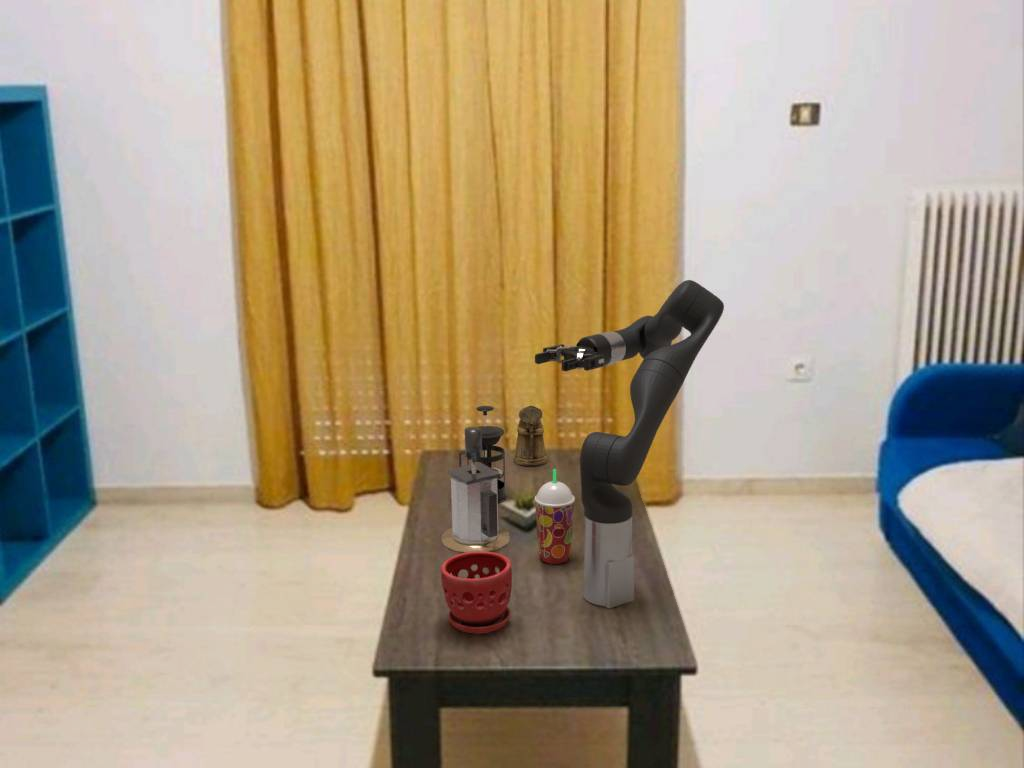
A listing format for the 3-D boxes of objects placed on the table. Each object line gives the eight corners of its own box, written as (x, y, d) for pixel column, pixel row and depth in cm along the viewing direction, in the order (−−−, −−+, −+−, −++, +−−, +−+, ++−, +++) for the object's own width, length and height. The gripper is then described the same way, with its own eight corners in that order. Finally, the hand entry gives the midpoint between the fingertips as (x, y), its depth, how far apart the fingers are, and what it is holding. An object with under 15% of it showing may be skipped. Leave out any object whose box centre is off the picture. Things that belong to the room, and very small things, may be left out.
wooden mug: (513, 473, 283) (512, 406, 278) (513, 455, 296) (512, 391, 291) (548, 472, 283) (547, 405, 278) (546, 455, 296) (546, 390, 291)
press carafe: (523, 543, 241) (522, 475, 236) (463, 559, 233) (461, 490, 229) (487, 520, 253) (486, 455, 249) (429, 535, 246) (427, 468, 242)
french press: (510, 490, 271) (508, 401, 265) (507, 505, 262) (506, 413, 256) (462, 490, 272) (460, 401, 265) (458, 504, 263) (455, 412, 256)
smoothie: (547, 547, 239) (546, 460, 233) (581, 555, 235) (581, 466, 229) (527, 561, 232) (526, 472, 226) (562, 570, 228) (562, 479, 222)
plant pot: (507, 603, 214) (506, 546, 211) (517, 636, 201) (516, 576, 198) (440, 608, 212) (438, 551, 209) (445, 642, 200) (443, 582, 196)
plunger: (499, 528, 241) (497, 430, 235) (468, 536, 238) (466, 437, 231) (481, 517, 248) (479, 421, 241) (451, 524, 244) (448, 427, 238)
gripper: (578, 329, 255) (526, 340, 244) (624, 339, 244) (572, 352, 234) (578, 360, 257) (527, 373, 246) (623, 372, 246) (572, 386, 236)
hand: (549, 362), depth 240 cm, fingers open, 8 cm apart
